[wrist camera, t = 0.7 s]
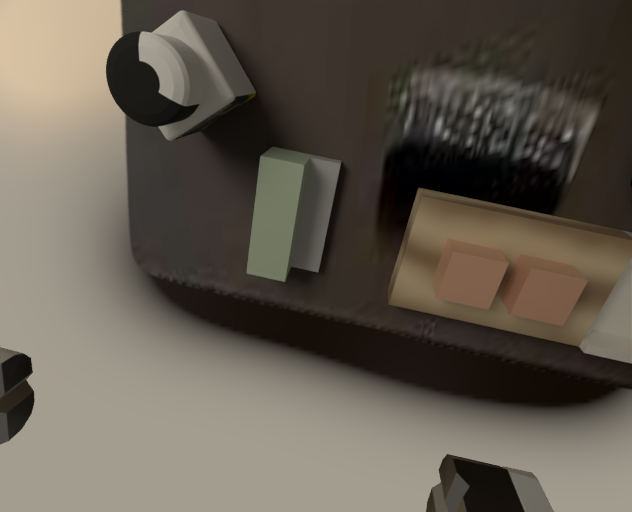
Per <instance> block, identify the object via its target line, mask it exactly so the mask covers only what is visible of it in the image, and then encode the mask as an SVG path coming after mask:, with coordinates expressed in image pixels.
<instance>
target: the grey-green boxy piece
mask: <svg viewBox="0 0 632 512" xmlns="http://www.w3.org/2000/svg"><path fill="white" fill-rule="evenodd" d="M340 166H341V161H339V160H334V159H330V158H325V157H320V156H315V155H310V154H306V153H301V152H296V151H291V150H286V149H282V148H277V147H271V148H270V149H269V150H268V151H266V152H265V153H264V154H262V155H261V156H260V164H259V172H258V181H257V189H256V198H255V206H254V215H253V223H252V232H251V240H250V249H249V257H248V265H247V273H248V274H252V275H257V276H261V277H266V278H270V279H275V280H279V281H284V282H285V280H286V278H287V276H288V273H289V271H290V268H291V267H295V268H300V269H304V270H309V271H313V272H318V271H319V267H320V263H321V258H322V253H323V248H324V243H325V239H326V234H327V229H328V224H329V219H330V215H331V210H332V205H333V200H334V195H335V190H336V186H337V181H338V176H339V171H340Z"/></svg>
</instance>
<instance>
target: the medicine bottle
mask: <svg viewBox="0 0 632 512" xmlns="http://www.w3.org/2000/svg"><path fill="white" fill-rule="evenodd" d="M106 76H107V82H108V86H109V89H110V92H111V94H112V96H113V98H114V100H115V102H116V103H117V104H118V106H119V107H120V108H121V110H122V111H123V112H124V113H125V114H126V115H128V116H129V117H130V118H132V119H133V120H135V121H136V122H138V123H141V124H143V125H147V126H154V127H157V126H158V127H159V129H160V130H161V132H162V133H163V135H164V136H165V138H166V139H167V140H169V141H172V140H175V139H178V138H181V137H184V136H187V135H190V134H193V133H195V132H198V131H201V130H203V129H205V128H206V127H208V126H209V125H211V124H212V123H214V122H215V121H217V120H219V119H220V118H222V117H223V116H225V115H226V114H228V113H230V112H231V111H233V110H234V109H236V108H237V107H239V106H240V105H242V104H244V103H245V102H247V101H248V100H250V99H251V98H253V97H254V96H255V95H256V91H255V89H254V87H253V86H252V84H251V82H250V80H249V78H248V77H247V75H246V73H245V71H244V70H243V68H242V66H241V64H240V63H239V61H238V59H237V57H236V56H235V54H234V52H233V50H232V48H231V47H230V45H229V43H228V41H227V40H226V38H225V36H224V34H223V33H222V31H221V29H220V27H219V26H218V24H217V22H216V21H214V20H211V19H208V18H205V17H202V16H199V15H195V14H192V13H189V12H186V11H183V10H182V11H179V12H178V13H177V14H175V15H174V16H173V17H172V18H170V19H169V20H168V21H166V22H165V23H164V24H163V25H161V26H160V27H159V28H157V29H156V30H155V31H153V32H152V33H149V32H133V33H129V34H127V35H124V36H123V37H121V38H120V39H119V40H118V41H117V42H116V43H115V44H114V46H113V47H112V49H111V51H110V53H109V56H108V59H107V65H106Z"/></svg>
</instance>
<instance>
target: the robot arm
mask: <svg viewBox="0 0 632 512" xmlns="http://www.w3.org/2000/svg"><path fill="white" fill-rule="evenodd" d="M32 373H33V371H32V363H31V358H30V357H28V356H27V355H25V354H23V353H19V352H16V351H12V350H8V349H4V348H1V347H0V444H2V443H5V442H7V441H9V440H10V439H11V438H12V437H14V436H15V435H16V434H17V433H18V432H19V431H20V430H21V429H22V428H23V426H24V425H25V423H26V421H27V420H28V418H29V417H30V415H31V413H32V409H33V405H34V391H33V389H32V388H31V386H30V385H29V384H28V382H27V381H26V379H27V378H28V377H29V376H30V375H31V374H32ZM439 473H440V479H441V483H440V484H438V485H436V486H435V487H433V488H432V489H431V493H430V496H429V499H428V502H427V509H426V512H554V511H553V509H552V507H551V505H550V503H549V501H548V499H547V497H546V495H545V493H544V491H543V489H542V487H541V485H540V483H539V481H538V479H537V478H536V477H535V476H534V475H533V474H532V473H531V472H526V471H522V470H517V469H512V468H508V467H500V466H497V465H492V464H488V463H484V462H479V461H475V460H471V459H466V458H462V457H458V456H453V455H449V454H447V455H446V456H445V458H444V459H443V460H442V463H441V466H440V468H439Z"/></svg>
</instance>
